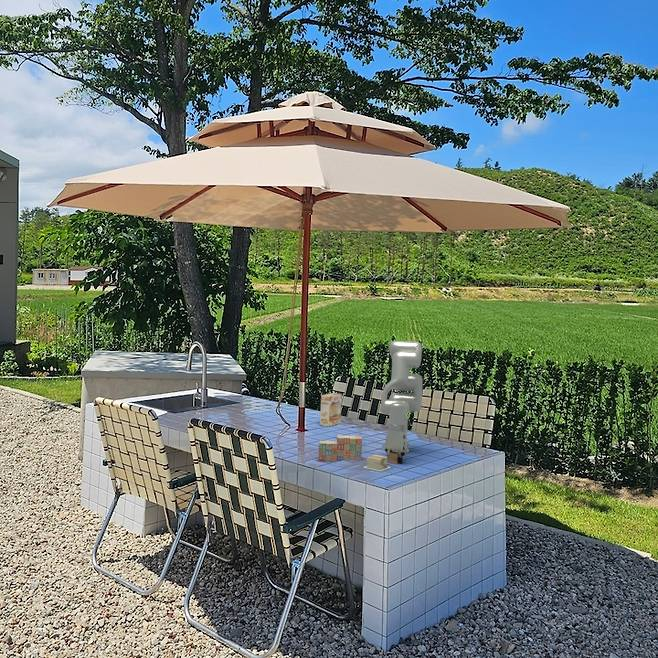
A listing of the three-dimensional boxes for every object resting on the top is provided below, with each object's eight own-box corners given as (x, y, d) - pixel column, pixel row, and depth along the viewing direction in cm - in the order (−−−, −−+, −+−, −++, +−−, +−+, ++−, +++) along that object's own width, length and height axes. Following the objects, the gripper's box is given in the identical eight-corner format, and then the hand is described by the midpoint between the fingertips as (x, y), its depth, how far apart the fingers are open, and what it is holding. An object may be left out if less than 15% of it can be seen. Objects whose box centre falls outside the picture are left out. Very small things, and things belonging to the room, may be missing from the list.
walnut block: (393, 462, 348) (393, 451, 347) (401, 464, 345) (402, 452, 345) (387, 464, 344) (388, 452, 343) (396, 466, 341) (397, 454, 340)
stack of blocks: (318, 461, 345) (319, 437, 345) (318, 458, 352) (319, 434, 351) (361, 462, 346) (362, 438, 346) (360, 459, 353) (361, 435, 352)
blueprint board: (372, 464, 343) (372, 461, 343) (396, 469, 334) (397, 467, 334) (356, 469, 331) (356, 467, 331) (381, 475, 323) (381, 472, 323)
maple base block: (374, 464, 338) (375, 454, 337) (387, 467, 334) (387, 457, 333) (366, 467, 332) (367, 457, 332) (379, 470, 328) (379, 459, 328)
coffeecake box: (329, 427, 432) (330, 396, 431) (319, 425, 436) (320, 395, 435) (341, 423, 445) (342, 393, 444) (331, 422, 448) (332, 392, 447)
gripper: (415, 429, 341) (413, 465, 342) (385, 424, 351) (384, 459, 352) (407, 431, 335) (405, 468, 336) (377, 426, 345) (376, 461, 346)
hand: (394, 463), depth 344 cm, fingers closed on walnut block, 5 cm apart
